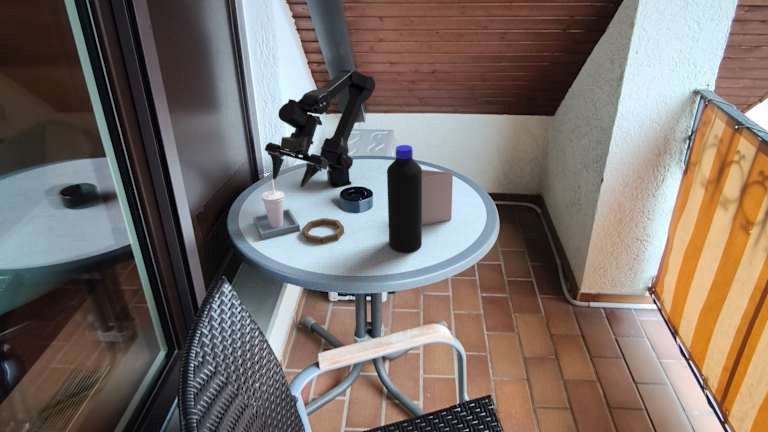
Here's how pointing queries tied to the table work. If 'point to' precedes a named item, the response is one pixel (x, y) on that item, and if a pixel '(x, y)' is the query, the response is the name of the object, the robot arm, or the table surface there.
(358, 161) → the table surface
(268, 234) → the tray
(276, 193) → the smoothie
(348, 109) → the robot arm
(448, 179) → the greeting card
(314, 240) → the collar
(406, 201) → the bottle
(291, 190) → the table surface
